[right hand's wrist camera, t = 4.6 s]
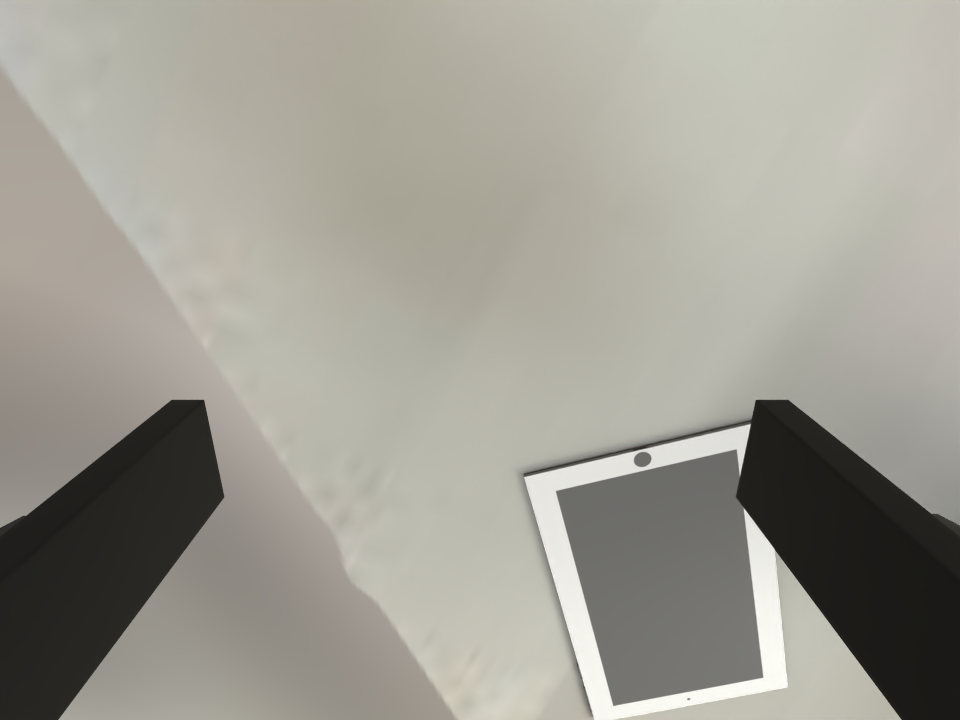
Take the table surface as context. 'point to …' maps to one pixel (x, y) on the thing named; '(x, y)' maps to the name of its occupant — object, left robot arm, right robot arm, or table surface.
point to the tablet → (662, 575)
